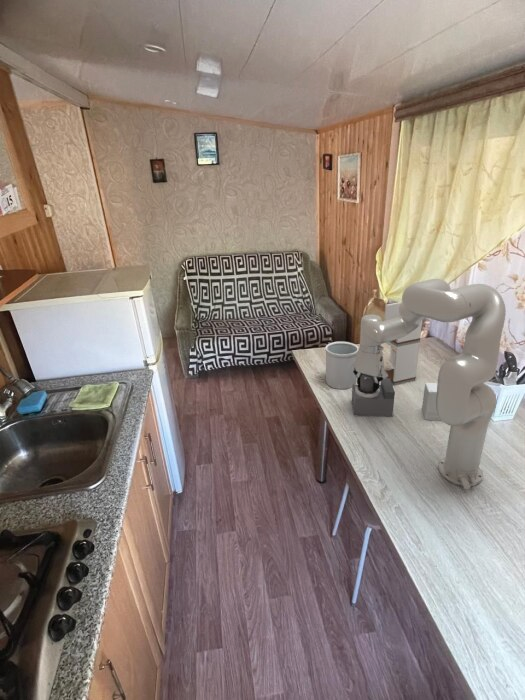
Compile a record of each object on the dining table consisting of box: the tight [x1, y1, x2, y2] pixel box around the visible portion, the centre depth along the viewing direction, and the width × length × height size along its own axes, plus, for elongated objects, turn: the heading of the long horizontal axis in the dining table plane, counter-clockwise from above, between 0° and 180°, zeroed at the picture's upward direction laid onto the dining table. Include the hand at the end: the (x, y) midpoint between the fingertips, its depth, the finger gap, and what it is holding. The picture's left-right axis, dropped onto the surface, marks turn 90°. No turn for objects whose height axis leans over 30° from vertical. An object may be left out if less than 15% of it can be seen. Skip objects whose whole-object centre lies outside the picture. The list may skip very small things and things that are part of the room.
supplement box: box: [421, 382, 443, 422], centre depth 149 cm, size 7×7×13 cm
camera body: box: [351, 378, 396, 417], centre depth 157 cm, size 11×15×11 cm
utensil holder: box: [324, 341, 360, 390], centre depth 177 cm, size 15×15×18 cm
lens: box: [360, 373, 375, 394], centre depth 154 cm, size 6×6×7 cm
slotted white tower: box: [379, 301, 423, 387], centre depth 173 cm, size 11×11×35 cm
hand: (367, 387), depth 155 cm, fingers closed on lens, 5 cm apart
